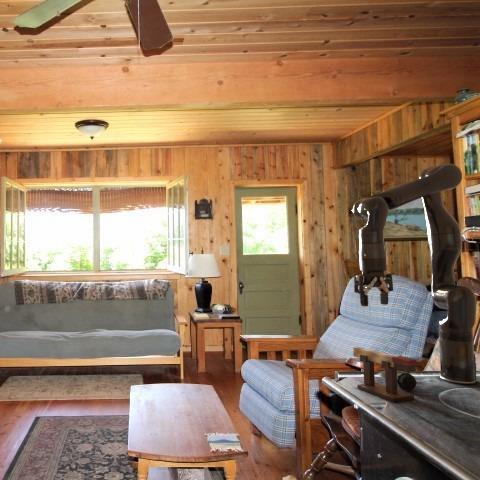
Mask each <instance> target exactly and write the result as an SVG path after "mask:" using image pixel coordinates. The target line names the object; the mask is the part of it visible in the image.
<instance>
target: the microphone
mask: <svg viewBox="0 0 480 480" xmlns="http://www.w3.org/2000/svg"><path fill="white" fill-rule="evenodd" d="M380 374H381V375H382V376H383V377H384V378H385V371H382V372H380ZM417 384H418V383H417V380H416V377H415V376H414V375H412V374H411V373H410V372H400V373H397V388H400V389H401V390H402V391H404V392H412V390H414V389H416V387H417Z"/></svg>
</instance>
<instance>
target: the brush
mask: <svg viewBox="0 0 480 480" xmlns="http://www.w3.org/2000/svg"><path fill="white" fill-rule="evenodd" d="M352 352H353V357H355V358H359V359H360V355H365V356H368V360H369V361H372V362H374V363H377V364H379V365H381V361H387V362H390V367H393V368H395V369H397V371H398V370H399V371H402V372H404V373H412V372H416V371H417V364H418V360H417V359H415V358H411V357H407V356H403V355H398V356H395V355H391V354H388V353H383V352H379V351H375V350H372V349H368V348H364V347H361V346H360V347H359V346H354V347H352Z"/></svg>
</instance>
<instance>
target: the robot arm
mask: <svg viewBox="0 0 480 480" xmlns="http://www.w3.org/2000/svg"><path fill="white" fill-rule="evenodd" d="M462 181H463V172H462V170H461V168H460V167H459V166H458V165H456V164H455V163H444V164H443V163H442V164H439V165H434V166H430V167H427V168H424V169H422V170H421V171H420V173H419V176H418V178H417V179H415V180H411V181H407V182H404V183H401V184H398V185H395V186H392V187H390V188H388V189H386V190H383V191H381V192H378V193H376V194H373V195H369V196H365V197H363V198H362V197H361V198H360V199H357V201H356V202H354V204H353V206H352V213H353V215H354V216H355V218H358V219H361V220H367V223H366V224H365V225H363V226H362V227H360V228H359V229H358V238H359V241H358V242H359V247H358V248H359V249H358V250H359V251H358V256H359V270H360V271H361V274H354V276H353V292H354V293H355V294H358V295H359V300H360V301H359V302H360V303H359V304H360V306H361V307H369V295H368V294H369V292H370V291H371V290H372V289H373V288H376V289H377V290H378V291H379V292H380V293H379V300H380V305H383V306H384V305H385V306H386V305H388V304H389V294H390V292H393V291H394V283H393V282H394V281H393V274H392V273H386V271H387V256H386V246H385V236H384V235H385V234H384V231H385V228H386V227H385V226H386V224H387V218H388V214H389V211H393V210H396V209H398V208H400V207H403V206H405V205H407V204H410V203H412V202H414V201H416V200H419V199H422V204H423V208H424V215H425V221H426V229H427V240H428V241H427V242H428V247H429V254H430V265H431V266H430V267H431V298H432V301H433V303H434V305H435V306H437V308H439V309H441V310H446V311H447V316H446V318H444V319H441V320H439V322H438V342H439V344H438V345H439V370H440V371H439V372H440V375H439V379H441V380H442V381H444V382H449V383H453V384H459V385H474V384H476V382H477V362H476V359H477V358H476V353H475V351H474V349H475V348H474V326H476V325H475V324H476V322H477V321H476V320H477V319H476V318H477V298H476V293H475V292H474V290H473V289H472V288H471V287H469V286H468V285H464V284H456V281H455V274H454V273H455V265H456V263H457V261H458V258H459V257H460V255H461V252H462V249H463V238H462V230H461V227H460V225H459V223H458V222H457V220H456V219H455V218H454V217H453V215H452V214H450V212H449V211H448V210H447V208H446V206H445V204H444V200H443V197H442V192H446V191H450V190H453V189H456V188H457V187H459V185H460V184H461V183H462Z"/></svg>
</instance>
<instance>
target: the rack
mask: <svg viewBox="0 0 480 480" xmlns="http://www.w3.org/2000/svg"><path fill="white" fill-rule="evenodd" d="M359 362H362V363H363V366H362V367H363V383H362V384H357V386H356V387H357V388H356V389H358V390H360V391H363V392H366V393H367V394H371V395H374V396H377V397H380V398H382V399H385V400H387V401H390V402H393V403H396V402H405V401H409V400H414V399H415V395H414V394H411V393H408V392H407V391H404V390H400V389H398V384H397V374H398V369H395V368H393V367H390V362H387V361H381V364H380V365H381V368H383V369H384V372H385V377H384V378H385V384H382V383H379V382H376V379H375V362H372V361H369V360H368V356H365V355H360V358H359Z"/></svg>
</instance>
